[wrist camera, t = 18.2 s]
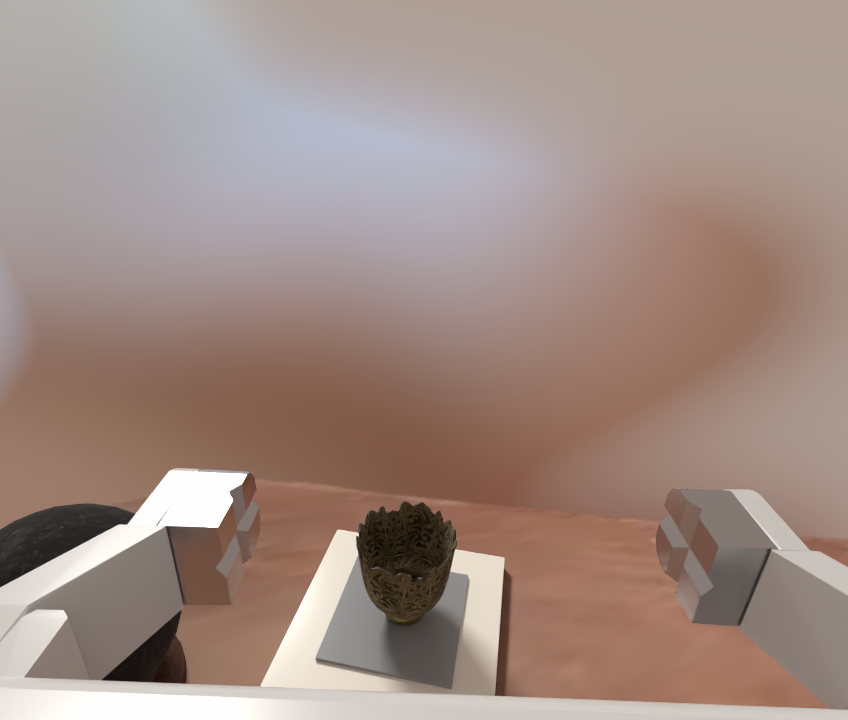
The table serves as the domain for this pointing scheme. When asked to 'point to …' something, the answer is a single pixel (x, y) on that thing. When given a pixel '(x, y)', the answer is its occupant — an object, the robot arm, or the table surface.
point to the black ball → (65, 530)
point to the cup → (405, 560)
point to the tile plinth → (393, 632)
